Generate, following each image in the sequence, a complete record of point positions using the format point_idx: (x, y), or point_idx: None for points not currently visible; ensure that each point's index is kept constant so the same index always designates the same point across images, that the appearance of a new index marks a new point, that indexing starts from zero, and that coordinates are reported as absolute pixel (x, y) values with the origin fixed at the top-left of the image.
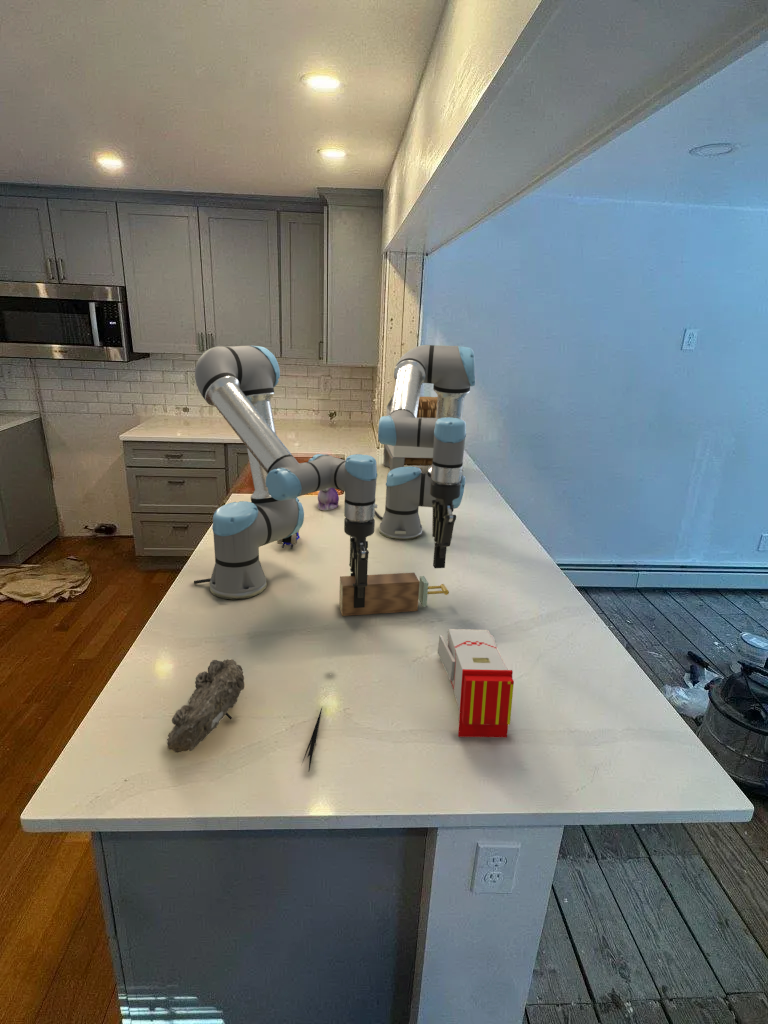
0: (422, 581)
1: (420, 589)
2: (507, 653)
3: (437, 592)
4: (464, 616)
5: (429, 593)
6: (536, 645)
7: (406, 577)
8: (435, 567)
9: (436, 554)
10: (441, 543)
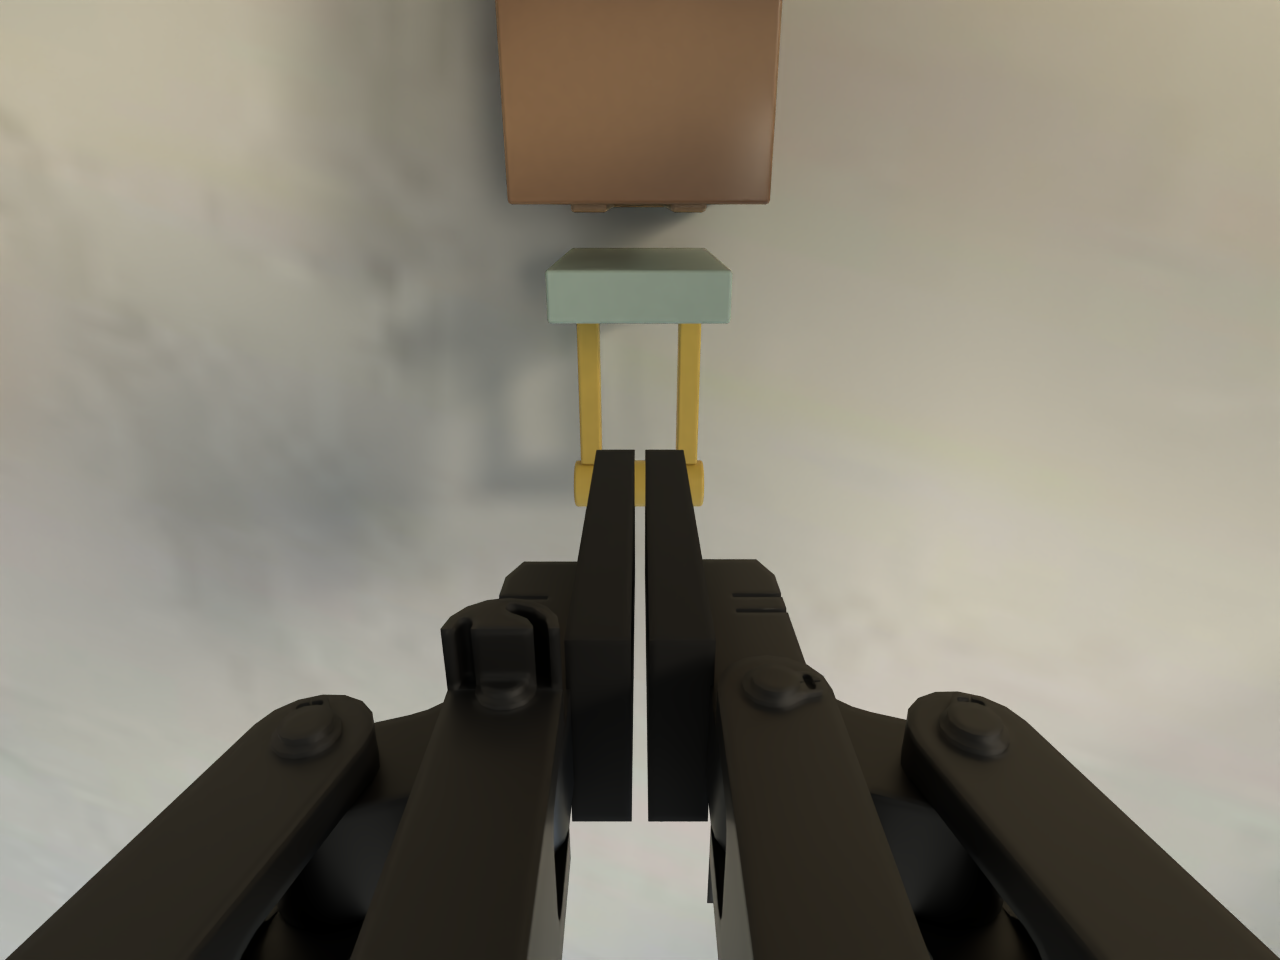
0: (608, 269)
1: (661, 258)
2: (24, 628)
3: (579, 405)
4: (453, 528)
5: (577, 327)
6: (133, 790)
7: (639, 46)
8: (595, 461)
9: (579, 549)
10: (195, 780)
